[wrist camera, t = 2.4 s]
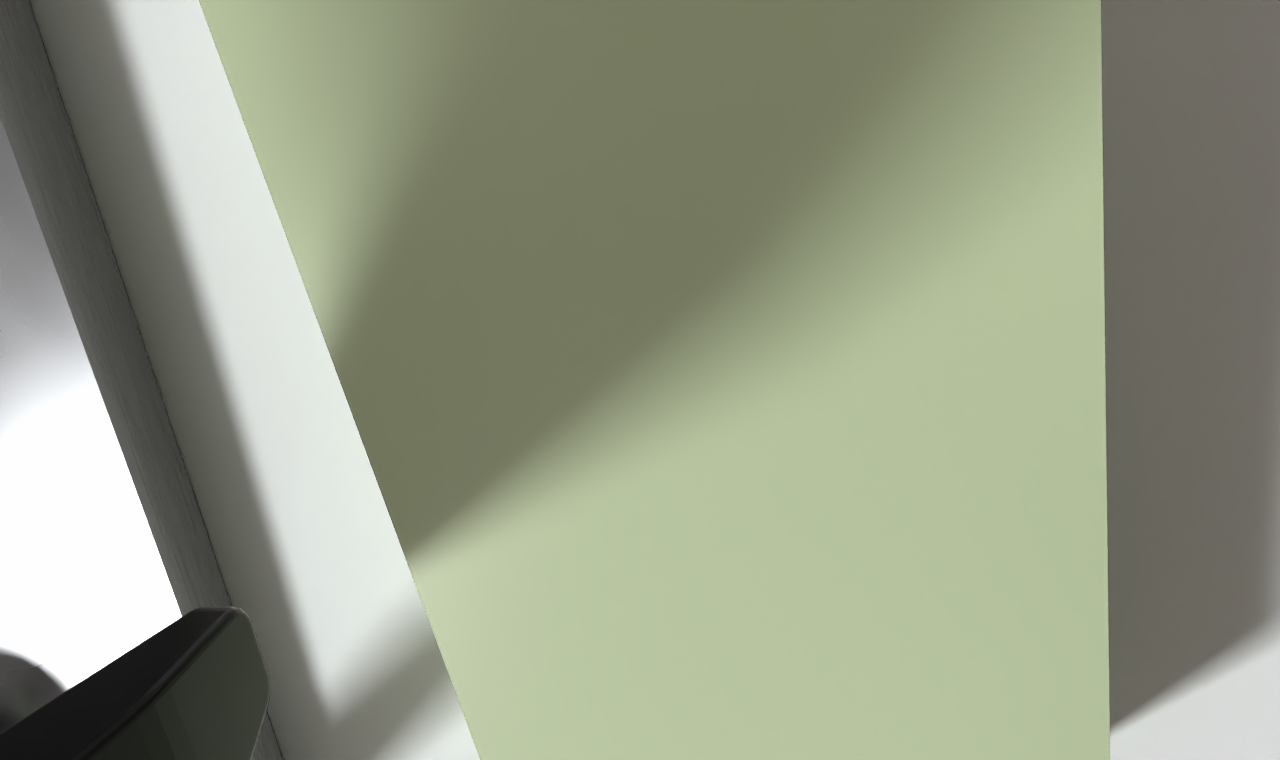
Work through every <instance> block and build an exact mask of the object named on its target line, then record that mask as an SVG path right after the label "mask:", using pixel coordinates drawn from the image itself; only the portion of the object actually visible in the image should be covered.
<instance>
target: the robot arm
mask: <svg viewBox="0 0 1280 760" xmlns="http://www.w3.org/2000/svg"><path fill="white" fill-rule="evenodd" d="M269 696H270V680H269V675H268V671H267V668H266V665H265V662H264V659H263V656H262V653H261V650H260V647H259V644H258V641H257V638H256V635H255V632H254V628H253V625H252V622H251V620H250V618H249V615H248V614H247V613H246V612H245V611H244V610H243V609H241V608H238V607H200V608H196V609H194V610H192V611H190V612H188V613H187V614H185V615H184V616H182V617H181V618H179V619H178V620H176V621H174V622H173V623H171V624H170V625H168V626H167V627H165V628H163V629H162V630H160V631H159V632H157V633H156V634H154V635H153V636H151V637H149V638H148V639H146V640H145V641H143V642H142V643H140V644H139V645H137V646H135V647H134V648H132V649H131V650H129V651H128V652H126V653H124V654H123V655H121V656H120V657H118V658H117V659H115V660H114V661H112V662H110V663H109V664H107V665H106V666H104V667H103V668H101V669H99V670H98V671H96V672H95V673H93V674H92V675H90V676H89V677H87V678H85V679H84V680H82V681H81V682H79V683H78V684H76V685H75V686H73V687H71V688H70V689H68V690H67V691H65V692H64V693H62V694H60V695H59V696H57V697H56V698H54V699H53V700H51V701H50V702H48V703H46V704H45V705H43V706H42V707H40V708H39V709H37V710H36V711H34V712H32V713H31V714H29V715H28V716H26V717H25V718H23V719H21V720H20V721H18V722H17V723H15V724H14V725H12V726H11V727H9V728H7V729H6V730H4V731H3V732H1V733H0V760H251V758H252V755H253V752H254V749H255V745H256V742H257V739H258V736H259V732H260V729H261V726H262V723H263V719H264V716H265V713H266V710H267V706H268V702H269Z"/></svg>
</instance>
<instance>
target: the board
mask: <svg viewBox="0 0 1280 760" xmlns="http://www.w3.org/2000/svg"><path fill="white" fill-rule="evenodd" d="M199 2H200V5H201V8H202V10H203V13H204V16H205V19H206V21H207V24H208V27H209V29H210V32H211V35H212V37H213V40H214V43H215V46H216V48H217V51H218V54H219V56H220V59H221V62H222V64H223V67H224V70H225V72H226V75H227V78H228V81H229V83H230V86H231V89H232V91H233V94H234V97H235V99H236V102H237V105H238V108H239V110H240V113H241V116H242V118H243V121H244V124H245V126H246V129H247V132H248V135H249V137H250V140H251V143H252V145H253V148H254V151H255V153H256V156H257V159H258V161H259V164H260V167H261V170H262V172H263V175H264V178H265V180H266V183H267V186H268V188H269V191H270V194H271V197H272V199H273V202H274V205H275V207H276V210H277V213H278V215H279V218H280V221H281V224H282V226H283V229H284V232H285V234H286V237H287V240H288V242H289V245H290V248H291V250H292V253H293V256H294V259H295V261H296V264H297V267H298V269H299V272H300V275H301V277H302V280H303V283H304V286H305V288H306V291H307V294H308V296H309V299H310V302H311V304H312V307H313V310H314V313H315V315H316V318H317V321H318V323H319V326H320V329H321V331H322V334H323V337H324V339H325V342H326V345H327V348H328V350H329V353H330V356H331V358H332V361H333V364H334V366H335V369H336V372H337V375H338V377H339V380H340V383H341V385H342V388H343V391H344V393H345V396H346V399H347V402H348V404H349V407H350V410H351V412H352V415H353V418H354V420H355V423H356V426H357V428H358V431H359V434H360V437H361V439H362V442H363V445H364V447H365V450H366V453H367V455H368V458H369V461H370V464H371V466H372V469H373V472H374V474H375V477H376V480H377V482H378V485H379V488H380V491H381V493H382V496H383V499H384V501H385V504H386V507H387V509H388V512H389V515H390V517H391V520H392V523H393V526H394V528H395V531H396V534H397V536H398V539H399V542H400V544H401V547H402V550H403V553H404V555H405V558H406V561H407V563H408V566H409V569H410V571H411V574H412V577H413V580H414V582H415V585H416V588H417V590H418V593H419V596H420V598H421V601H422V604H423V606H424V609H425V612H426V615H427V617H428V620H429V623H430V625H431V628H432V631H433V633H434V636H435V639H436V642H437V644H438V647H439V650H440V652H441V655H442V658H443V660H444V663H445V666H446V669H447V671H448V674H449V677H450V679H451V682H452V685H453V687H454V690H455V693H456V695H457V698H458V701H459V704H460V706H461V709H462V712H463V714H464V717H465V720H466V722H467V725H468V728H469V731H470V733H471V736H472V739H473V741H474V744H475V747H476V749H477V752H478V755H479V757H480V760H1110V711H1109V628H1108V546H1107V463H1106V381H1105V299H1104V216H1103V134H1102V51H1101V0H199Z"/></svg>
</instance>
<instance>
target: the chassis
mask: <svg viewBox="0 0 1280 760" xmlns="http://www.w3.org/2000/svg"><path fill="white" fill-rule="evenodd" d="M200 607H231V604H230V601H229V598H228V595H227V592H226V589H225V586H224V583H223V580H222V577H221V574H220V571H219V568H218V565H217V562H216V559H215V556H214V553H213V550H212V547H211V544H210V541H209V538H208V535H207V532H206V529H205V526H204V523H203V520H202V517H201V514H200V511H199V508H198V505H197V502H196V499H195V496H194V493H193V490H192V487H191V484H190V481H189V478H188V475H187V472H186V469H185V466H184V463H183V461H182V458H181V455H180V452H179V449H178V446H177V443H176V440H175V437H174V434H173V431H172V428H171V425H170V422H169V419H168V416H167V413H166V410H165V407H164V404H163V401H162V398H161V395H160V392H159V389H158V386H157V383H156V380H155V377H154V374H153V371H152V368H151V365H150V362H149V359H148V356H147V353H146V350H145V347H144V344H143V341H142V338H141V335H140V332H139V329H138V326H137V323H136V320H135V317H134V314H133V311H132V308H131V305H130V302H129V299H128V296H127V293H126V290H125V287H124V284H123V281H122V278H121V275H120V272H119V269H118V266H117V263H116V260H115V257H114V254H113V251H112V248H111V245H110V242H109V239H108V236H107V234H106V231H105V228H104V225H103V222H102V219H101V216H100V213H99V210H98V207H97V204H96V201H95V198H94V195H93V192H92V189H91V186H90V183H89V180H88V177H87V174H86V171H85V168H84V165H83V162H82V159H81V156H80V153H79V150H78V147H77V144H76V141H75V138H74V135H73V132H72V129H71V126H70V123H69V120H68V117H67V114H66V111H65V108H64V105H63V102H62V99H61V96H60V93H59V90H58V87H57V84H56V81H55V78H54V75H53V72H52V69H51V66H50V63H49V60H48V57H47V54H46V51H45V48H44V45H43V42H42V39H41V36H40V33H39V30H38V27H37V24H36V21H35V18H34V15H33V12H32V9H31V7H30V4H29V1H28V0H0V733H1V732H3V731H4V730H6V729H7V728H9V727H11V726H12V725H14V724H15V723H17V722H18V721H20V720H21V719H23V718H25V717H26V716H28V715H29V714H31V713H32V712H34V711H36V710H37V709H39V708H40V707H42V706H43V705H45V704H46V703H48V702H50V701H51V700H53V699H54V698H56V697H57V696H59V695H60V694H62V693H64V692H65V691H67V690H68V689H70V688H71V687H73V686H75V685H76V684H78V683H79V682H81V681H82V680H84V679H85V678H87V677H89V676H90V675H92V674H93V673H95V672H96V671H98V670H99V669H101V668H103V667H104V666H106V665H107V664H109V663H110V662H112V661H114V660H115V659H117V658H118V657H120V656H121V655H123V654H124V653H126V652H128V651H129V650H131V649H132V648H134V647H135V646H137V645H139V644H140V643H142V642H143V641H145V640H146V639H148V638H149V637H151V636H153V635H154V634H156V633H157V632H159V631H160V630H162V629H163V628H165V627H167V626H168V625H170V624H171V623H173V622H174V621H176V620H178V619H179V618H181V617H182V616H184V615H185V614H187V613H188V612H190V611H192V610H194V609H196V608H200ZM251 760H283V759H282V756H281V753H280V750H279V747H278V744H277V741H276V738H275V735H274V732H273V729H272V726H271V723H270V720H269V717H268V714H267V711H266V713H265V716H264V719H263V723H262V726H261V729H260V732H259V736H258V739H257V742H256V745H255V749H254V752H253V755H252V758H251Z"/></svg>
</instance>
